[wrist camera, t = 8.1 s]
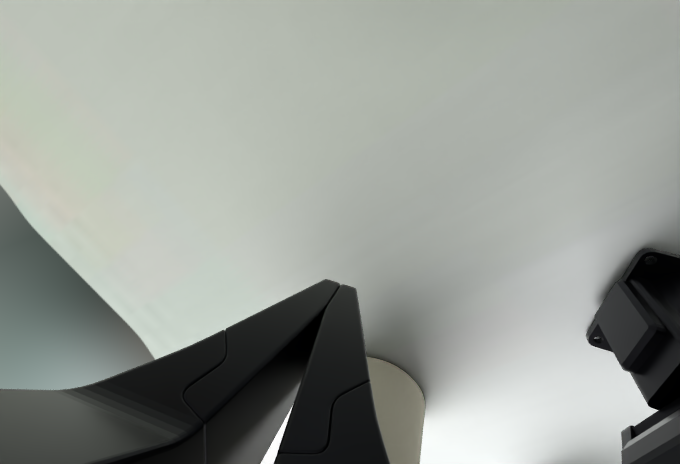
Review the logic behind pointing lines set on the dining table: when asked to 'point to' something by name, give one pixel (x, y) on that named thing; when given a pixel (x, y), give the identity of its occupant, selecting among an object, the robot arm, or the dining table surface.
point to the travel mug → (398, 411)
